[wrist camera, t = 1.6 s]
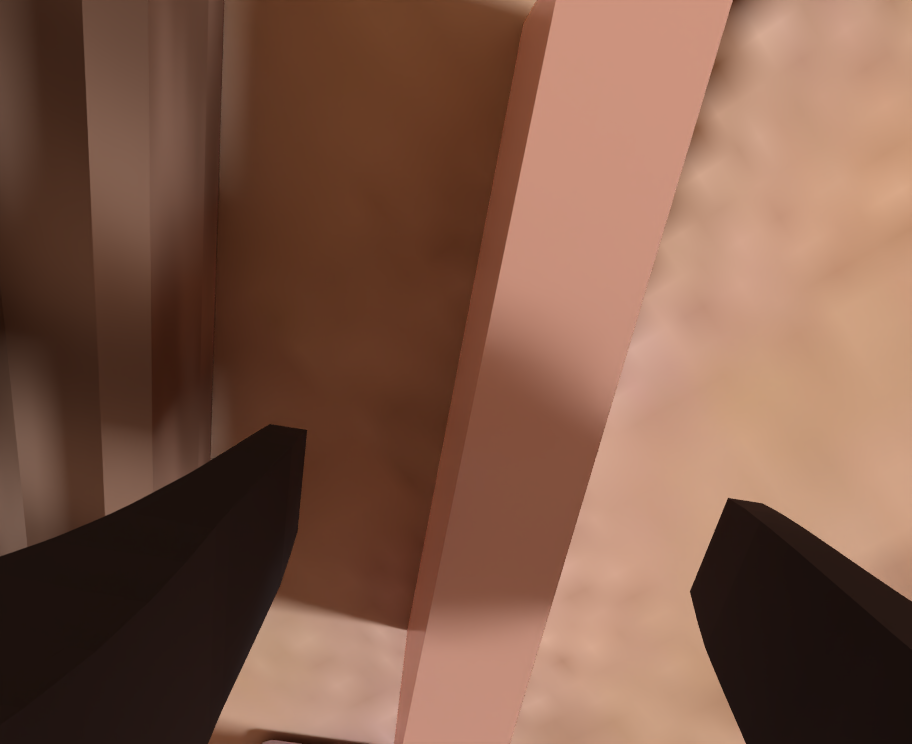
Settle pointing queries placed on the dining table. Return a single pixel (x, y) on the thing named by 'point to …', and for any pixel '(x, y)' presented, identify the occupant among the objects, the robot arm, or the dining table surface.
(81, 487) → the slatted brown panel
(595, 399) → the clay strip
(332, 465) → the dining table surface
